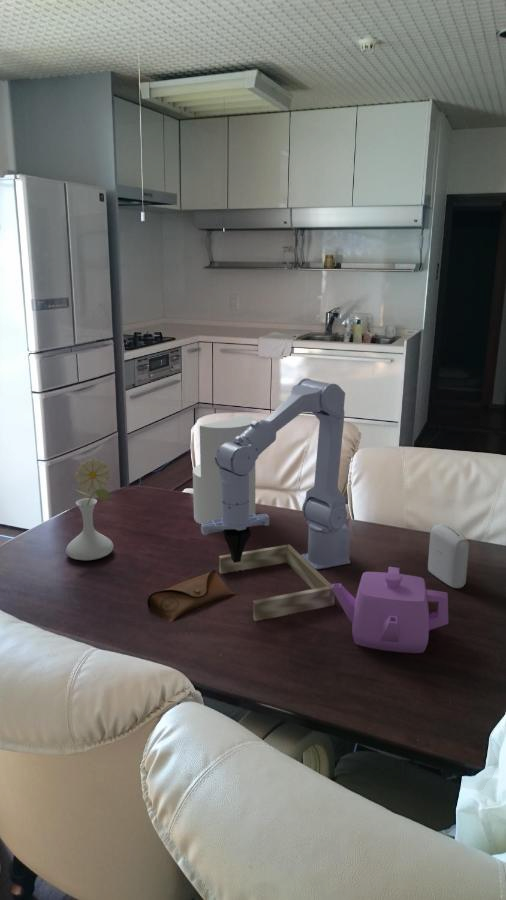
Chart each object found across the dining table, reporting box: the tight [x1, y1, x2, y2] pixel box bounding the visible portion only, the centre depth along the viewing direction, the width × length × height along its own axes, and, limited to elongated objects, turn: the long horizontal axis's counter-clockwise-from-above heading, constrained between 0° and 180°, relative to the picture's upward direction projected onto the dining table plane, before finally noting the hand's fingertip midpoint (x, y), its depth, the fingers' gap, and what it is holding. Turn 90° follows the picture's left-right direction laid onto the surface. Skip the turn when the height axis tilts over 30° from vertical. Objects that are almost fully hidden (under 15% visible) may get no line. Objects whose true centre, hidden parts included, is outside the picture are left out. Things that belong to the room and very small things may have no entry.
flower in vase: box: [65, 458, 115, 561], centre depth 154 cm, size 13×11×25 cm
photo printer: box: [427, 523, 470, 589], centre depth 144 cm, size 10×4×12 cm, turn 20°
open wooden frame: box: [218, 544, 336, 622], centre depth 141 cm, size 18×23×4 cm
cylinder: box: [192, 414, 257, 525], centre depth 177 cm, size 17×17×28 cm
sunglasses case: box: [146, 569, 236, 623], centre depth 136 cm, size 18×7×7 cm, turn 133°
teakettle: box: [331, 566, 449, 654], centre depth 123 cm, size 17×17×12 cm
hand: (235, 560), depth 136 cm, fingers closed
